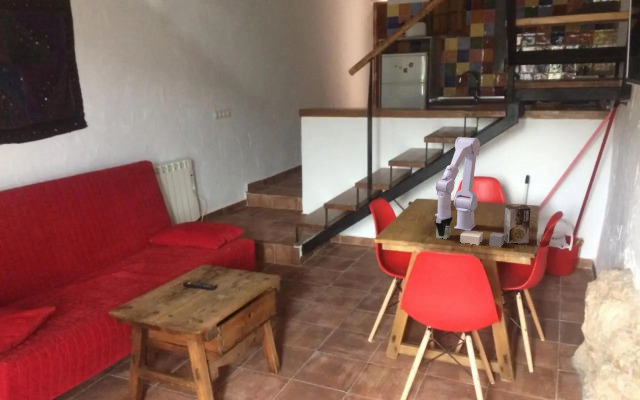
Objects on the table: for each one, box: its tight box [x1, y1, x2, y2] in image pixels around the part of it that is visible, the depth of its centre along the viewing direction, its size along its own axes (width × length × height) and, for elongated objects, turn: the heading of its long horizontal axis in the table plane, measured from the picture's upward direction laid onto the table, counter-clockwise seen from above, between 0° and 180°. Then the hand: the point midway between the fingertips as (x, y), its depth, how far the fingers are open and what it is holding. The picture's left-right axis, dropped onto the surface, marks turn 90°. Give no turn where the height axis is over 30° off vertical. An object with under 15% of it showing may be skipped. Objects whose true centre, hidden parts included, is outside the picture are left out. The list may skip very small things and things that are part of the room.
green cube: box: [435, 225, 452, 240], centre depth 233 cm, size 5×5×5 cm
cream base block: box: [459, 230, 484, 246], centre depth 226 cm, size 8×8×4 cm
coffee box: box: [503, 204, 531, 244], centre depth 223 cm, size 9×6×16 cm
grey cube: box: [488, 231, 505, 248], centre depth 220 cm, size 5×5×5 cm
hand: (443, 234), depth 233 cm, fingers open, 5 cm apart
